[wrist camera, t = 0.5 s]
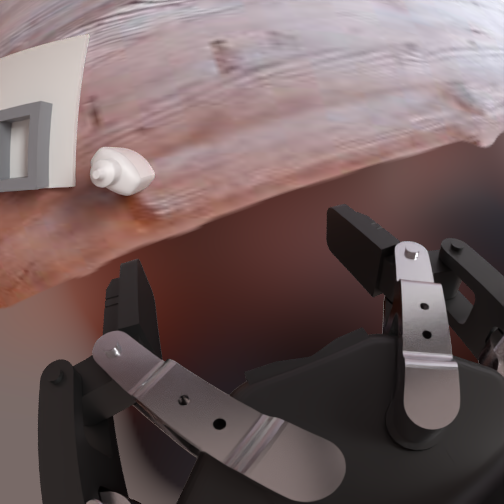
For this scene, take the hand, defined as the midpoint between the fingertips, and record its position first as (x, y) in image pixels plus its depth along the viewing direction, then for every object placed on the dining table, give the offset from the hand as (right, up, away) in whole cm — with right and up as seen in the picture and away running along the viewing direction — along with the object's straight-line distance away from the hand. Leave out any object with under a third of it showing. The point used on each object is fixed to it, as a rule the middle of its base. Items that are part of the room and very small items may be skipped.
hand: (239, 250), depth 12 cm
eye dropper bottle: (-13, +10, +21) cm, 26 cm away
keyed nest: (-29, +18, +16) cm, 37 cm away
